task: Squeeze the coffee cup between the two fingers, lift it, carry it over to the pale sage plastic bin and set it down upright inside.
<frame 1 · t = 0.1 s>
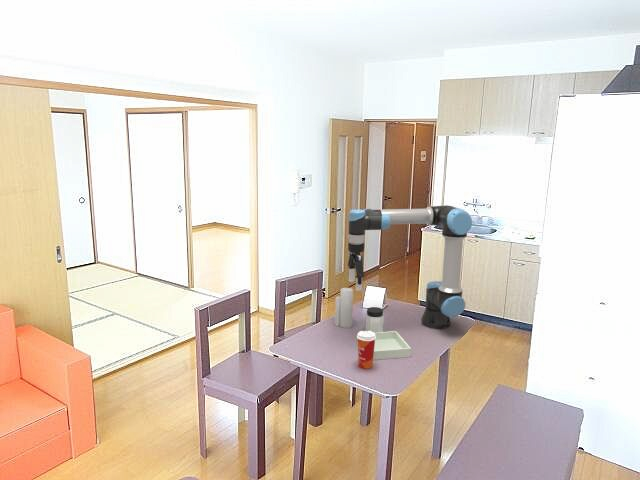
hand: (355, 286, 226), 28 cm above the table, fingers open, 13 cm apart
coffee cup: (365, 366, 207), on the table
bin: (382, 348, 223), on the table
candle: (342, 324, 252), on the table
jar: (374, 332, 243), on the table
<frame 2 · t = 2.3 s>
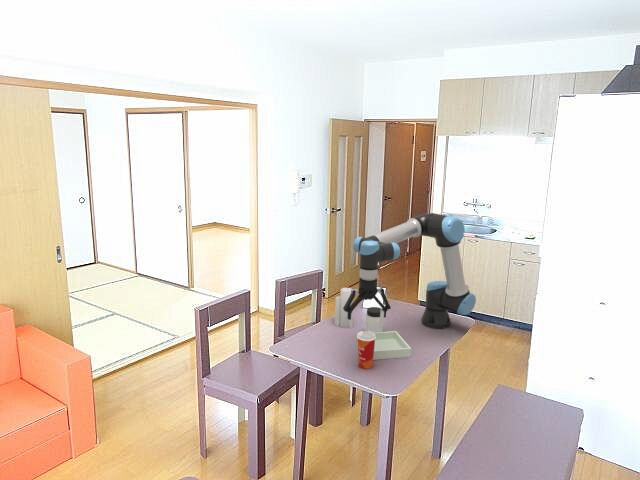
hand: (366, 325, 202), 19 cm above the table, fingers open, 13 cm apart
nothing on the table moved.
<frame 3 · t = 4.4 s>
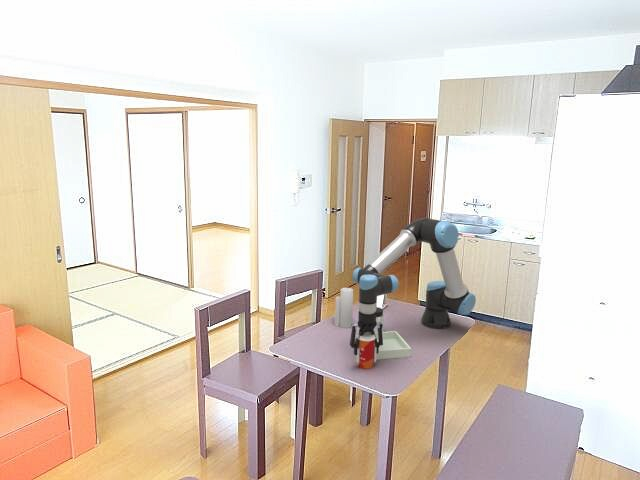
hand: (365, 360, 206), 3 cm above the table, fingers closed on coffee cup, 7 cm apart
coffee cup: (365, 366, 207), on the table, touching gripper
everything else where it was.
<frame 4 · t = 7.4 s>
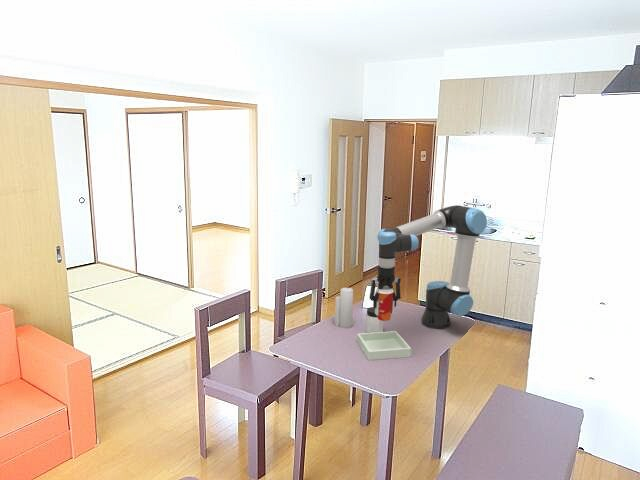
hand: (384, 313, 219), 18 cm above the table, fingers closed on coffee cup, 7 cm apart
coffee cup: (383, 318, 220), point 15 cm above the table, touching gripper
everything else where it was.
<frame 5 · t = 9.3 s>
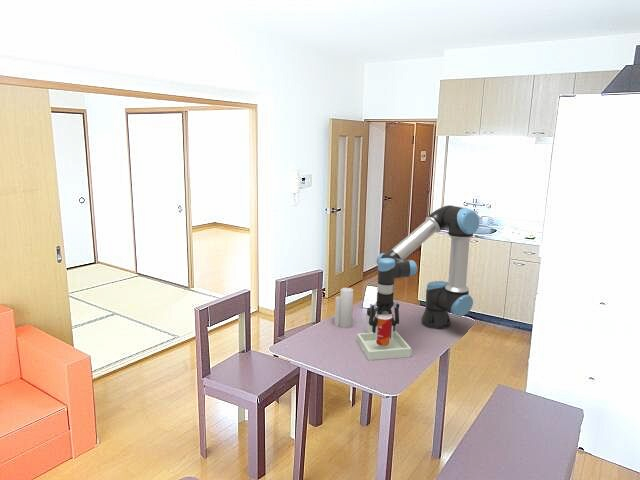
hand: (383, 338, 222), 5 cm above the table, fingers closed on coffee cup, 7 cm apart
coffee cup: (382, 343, 223), point 3 cm above the table, touching gripper
everything else where it was.
when the fingers open (4 cm above the table, at t = 10.6 s): coffee cup stays where it is, resting on bin.
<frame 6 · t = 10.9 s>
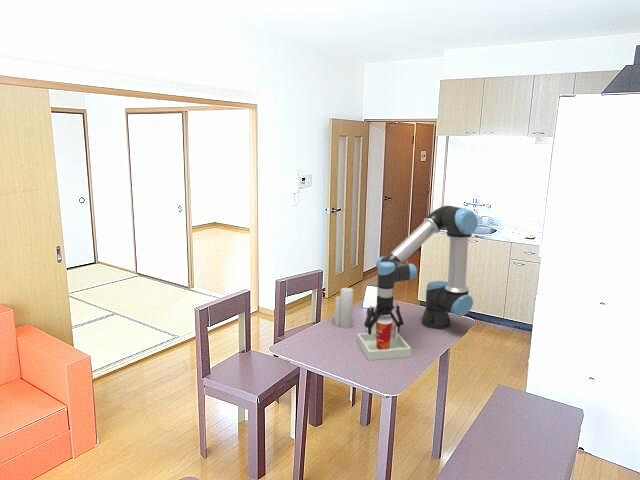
hand: (383, 339, 222), 5 cm above the table, fingers open, 11 cm apart
coffee cup: (382, 347, 223), resting on bin
everything else where it was.
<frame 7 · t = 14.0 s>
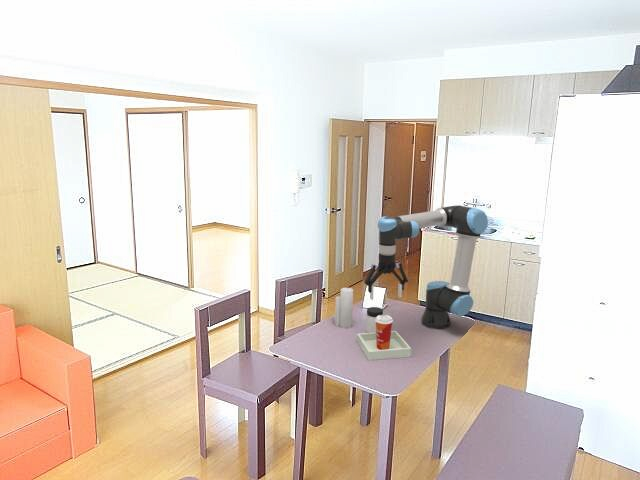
hand: (385, 297, 218), 25 cm above the table, fingers open, 13 cm apart
nothing on the table moved.
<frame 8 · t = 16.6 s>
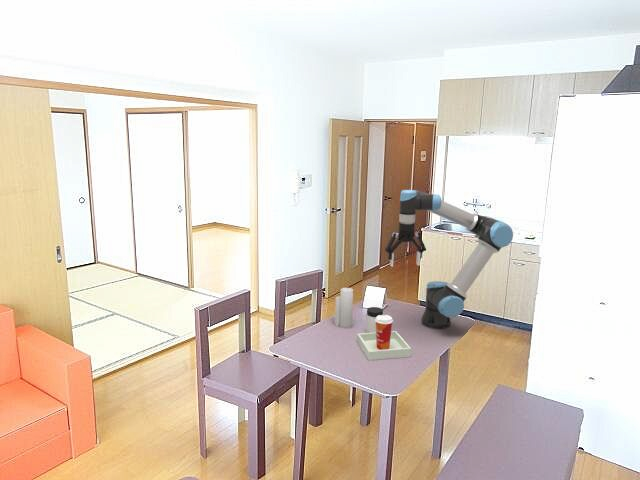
hand: (404, 265, 230), 37 cm above the table, fingers open, 13 cm apart
nothing on the table moved.
at the end: coffee cup inside the target area on the bin (0.3 cm from its centre), point 0.4 cm above the bin's base; coffee cup tilted 0°; the gripper is holding nothing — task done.
